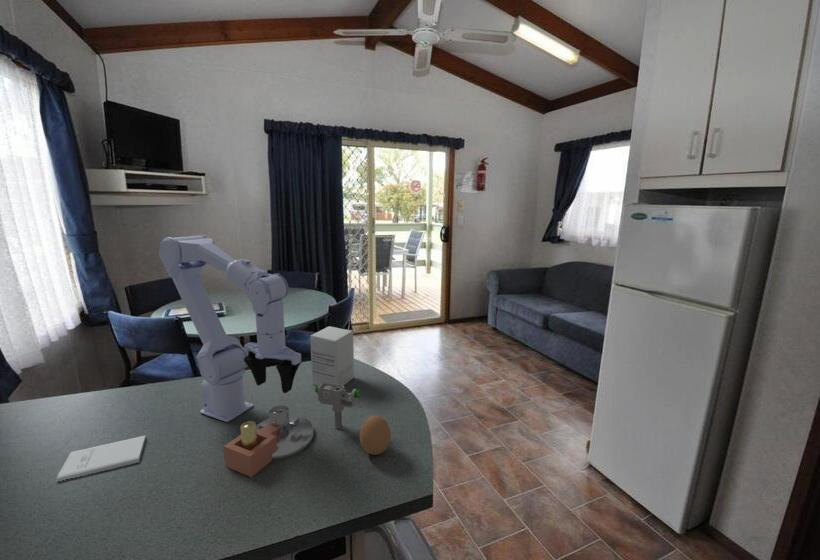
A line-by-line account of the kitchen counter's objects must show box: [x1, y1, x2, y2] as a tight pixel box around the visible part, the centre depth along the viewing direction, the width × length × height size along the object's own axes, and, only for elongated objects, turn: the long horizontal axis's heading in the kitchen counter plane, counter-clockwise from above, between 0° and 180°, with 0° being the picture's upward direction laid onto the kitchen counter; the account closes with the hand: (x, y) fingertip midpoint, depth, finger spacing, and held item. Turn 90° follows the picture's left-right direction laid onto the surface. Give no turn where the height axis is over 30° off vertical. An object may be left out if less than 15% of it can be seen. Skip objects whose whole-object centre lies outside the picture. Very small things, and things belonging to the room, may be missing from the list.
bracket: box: [223, 423, 281, 478], centre depth 75 cm, size 7×10×4 cm
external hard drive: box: [56, 435, 147, 482], centre depth 74 cm, size 2×8×12 cm
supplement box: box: [309, 326, 355, 389], centre depth 106 cm, size 9×9×15 cm
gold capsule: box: [240, 420, 257, 451], centre depth 73 cm, size 3×3×7 cm
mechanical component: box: [314, 383, 361, 430], centre depth 85 cm, size 3×10×10 cm, turn 78°
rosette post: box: [256, 404, 314, 461], centre depth 81 cm, size 14×14×7 cm
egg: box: [359, 414, 392, 456], centre depth 77 cm, size 6×6×8 cm
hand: (274, 387), depth 84 cm, fingers open, 7 cm apart
